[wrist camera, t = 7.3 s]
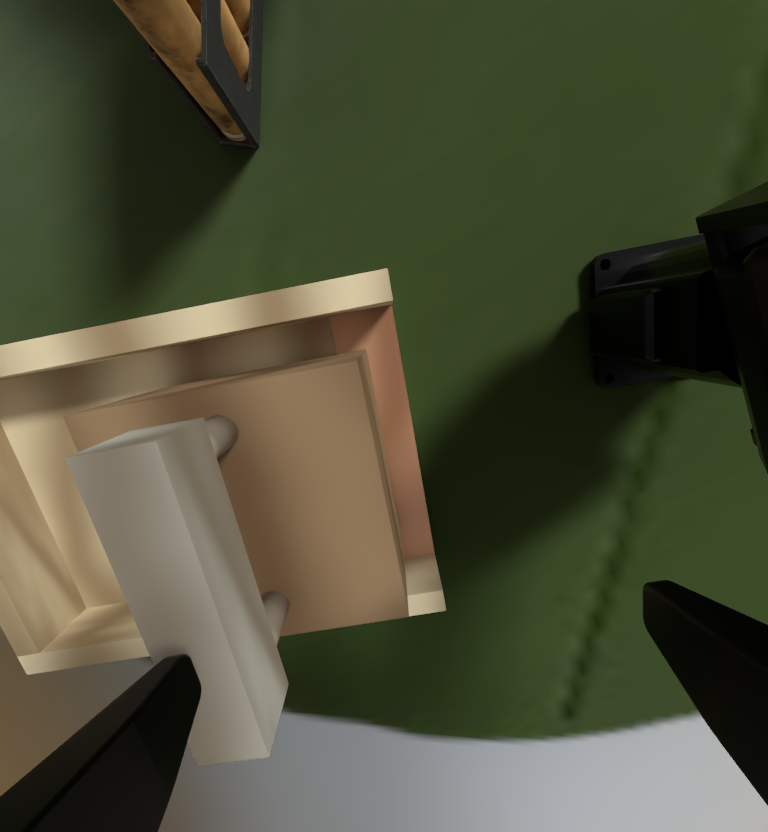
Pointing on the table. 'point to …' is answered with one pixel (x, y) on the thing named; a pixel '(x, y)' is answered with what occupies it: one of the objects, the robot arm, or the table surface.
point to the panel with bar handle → (245, 527)
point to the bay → (144, 372)
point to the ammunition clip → (208, 59)
